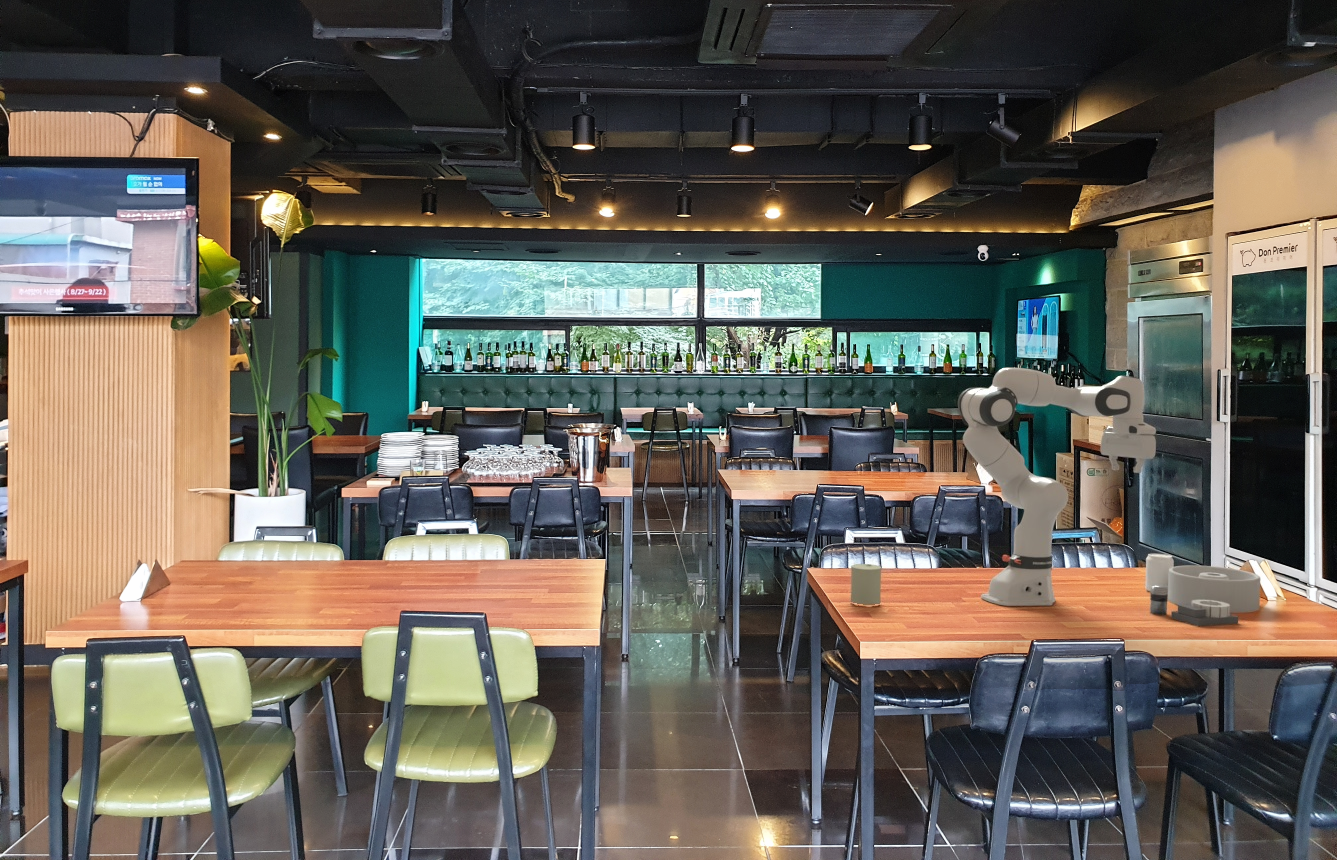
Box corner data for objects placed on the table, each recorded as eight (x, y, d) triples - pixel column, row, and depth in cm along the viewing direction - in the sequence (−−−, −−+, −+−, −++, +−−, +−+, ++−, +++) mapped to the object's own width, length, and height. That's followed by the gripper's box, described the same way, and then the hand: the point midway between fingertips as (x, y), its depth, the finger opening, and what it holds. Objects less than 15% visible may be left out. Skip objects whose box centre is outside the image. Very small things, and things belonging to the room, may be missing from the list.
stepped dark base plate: (1198, 626, 280) (1198, 608, 280) (1171, 618, 290) (1171, 601, 289) (1238, 623, 284) (1238, 606, 284) (1210, 615, 294) (1210, 598, 293)
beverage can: (1175, 594, 323) (1177, 558, 322) (1148, 593, 324) (1150, 557, 324) (1168, 589, 330) (1169, 554, 330) (1142, 588, 332) (1143, 552, 332)
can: (883, 602, 307) (884, 564, 307) (877, 608, 299) (877, 568, 298) (854, 599, 311) (855, 561, 311) (846, 605, 303) (847, 566, 302)
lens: (1157, 615, 293) (1158, 588, 292) (1146, 612, 297) (1147, 585, 297) (1170, 614, 294) (1171, 587, 294) (1159, 611, 298) (1159, 584, 298)
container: (1267, 616, 294) (1268, 583, 293) (1173, 609, 303) (1174, 576, 302) (1250, 599, 317) (1251, 568, 317) (1163, 593, 326) (1164, 563, 326)
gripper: (1096, 426, 323) (1094, 468, 323) (1143, 429, 303) (1141, 474, 304) (1112, 426, 324) (1110, 468, 325) (1160, 429, 305) (1158, 474, 306)
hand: (1126, 471), depth 314 cm, fingers open, 8 cm apart
